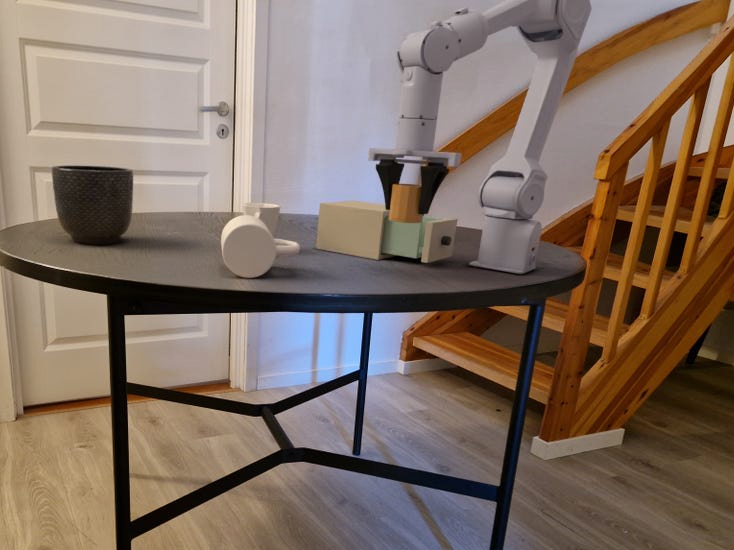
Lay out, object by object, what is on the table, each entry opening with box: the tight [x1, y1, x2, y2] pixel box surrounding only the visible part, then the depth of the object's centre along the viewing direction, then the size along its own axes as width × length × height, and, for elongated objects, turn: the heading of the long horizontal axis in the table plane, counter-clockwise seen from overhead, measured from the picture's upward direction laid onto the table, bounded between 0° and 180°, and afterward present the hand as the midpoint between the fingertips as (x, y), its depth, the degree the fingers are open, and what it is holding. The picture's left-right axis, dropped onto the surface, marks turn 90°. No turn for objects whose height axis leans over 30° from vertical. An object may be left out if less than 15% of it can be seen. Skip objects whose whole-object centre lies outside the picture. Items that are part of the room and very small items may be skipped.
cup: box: [241, 202, 281, 238], centre depth 112 cm, size 7×10×8 cm
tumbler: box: [389, 183, 424, 223], centre depth 97 cm, size 5×5×6 cm
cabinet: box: [316, 199, 398, 261], centre depth 117 cm, size 14×12×9 cm
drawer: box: [381, 215, 458, 264], centre depth 111 cm, size 14×10×7 cm
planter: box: [51, 165, 134, 246], centre depth 111 cm, size 14×14×13 cm
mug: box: [220, 214, 301, 279], centre depth 94 cm, size 12×10×8 cm
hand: (406, 211), depth 97 cm, fingers closed on tumbler, 5 cm apart
